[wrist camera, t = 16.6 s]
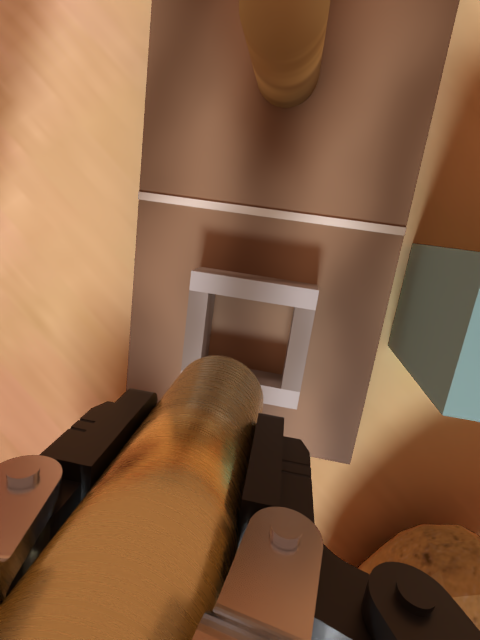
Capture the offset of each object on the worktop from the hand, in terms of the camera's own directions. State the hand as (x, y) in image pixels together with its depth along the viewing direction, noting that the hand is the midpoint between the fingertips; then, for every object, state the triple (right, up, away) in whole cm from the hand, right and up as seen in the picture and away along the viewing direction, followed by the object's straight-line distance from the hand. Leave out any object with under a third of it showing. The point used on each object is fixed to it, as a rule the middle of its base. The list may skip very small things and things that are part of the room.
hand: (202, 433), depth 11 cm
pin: (0, +1, +2) cm, 2 cm away
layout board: (+3, +9, +11) cm, 15 cm away
